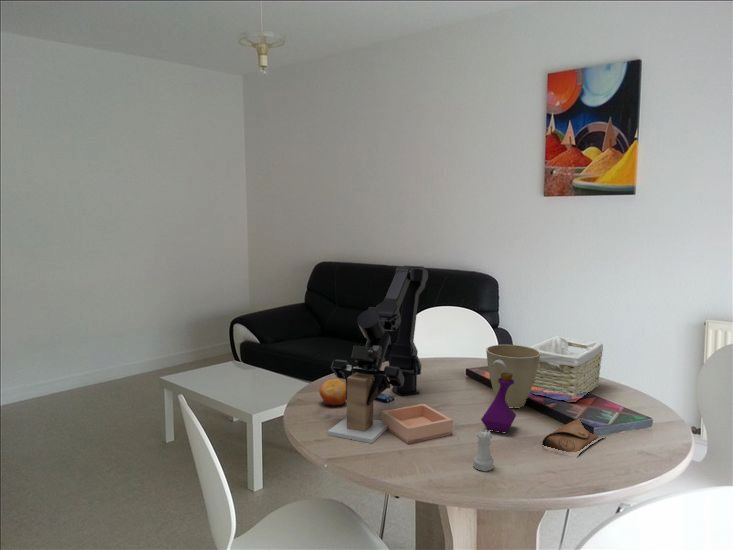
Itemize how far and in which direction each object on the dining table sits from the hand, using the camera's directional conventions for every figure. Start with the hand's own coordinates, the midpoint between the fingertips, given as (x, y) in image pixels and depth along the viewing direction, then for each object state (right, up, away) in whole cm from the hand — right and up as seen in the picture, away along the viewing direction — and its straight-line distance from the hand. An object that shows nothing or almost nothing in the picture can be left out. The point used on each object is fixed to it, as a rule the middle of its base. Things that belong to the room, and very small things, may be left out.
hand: (357, 402), depth 136 cm
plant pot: (+44, -6, +22) cm, 49 cm away
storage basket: (+64, -5, +35) cm, 73 cm away
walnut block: (+1, -6, +2) cm, 7 cm away
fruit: (-7, -6, +22) cm, 23 cm away
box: (+15, -7, +3) cm, 17 cm away
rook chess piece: (+27, -10, -18) cm, 34 cm away
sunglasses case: (+52, -9, -4) cm, 53 cm away
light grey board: (+1, -7, +2) cm, 8 cm away
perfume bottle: (+36, -8, +3) cm, 37 cm away
